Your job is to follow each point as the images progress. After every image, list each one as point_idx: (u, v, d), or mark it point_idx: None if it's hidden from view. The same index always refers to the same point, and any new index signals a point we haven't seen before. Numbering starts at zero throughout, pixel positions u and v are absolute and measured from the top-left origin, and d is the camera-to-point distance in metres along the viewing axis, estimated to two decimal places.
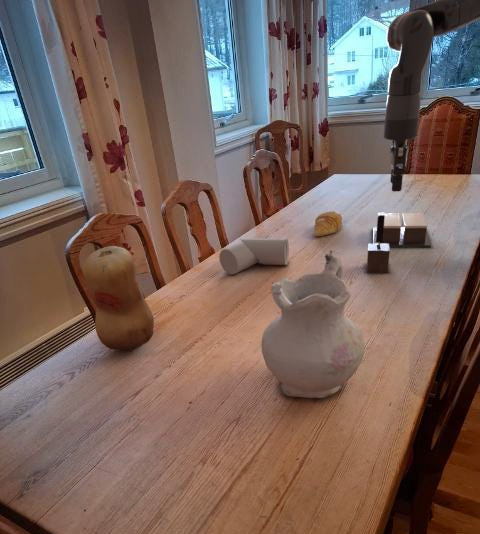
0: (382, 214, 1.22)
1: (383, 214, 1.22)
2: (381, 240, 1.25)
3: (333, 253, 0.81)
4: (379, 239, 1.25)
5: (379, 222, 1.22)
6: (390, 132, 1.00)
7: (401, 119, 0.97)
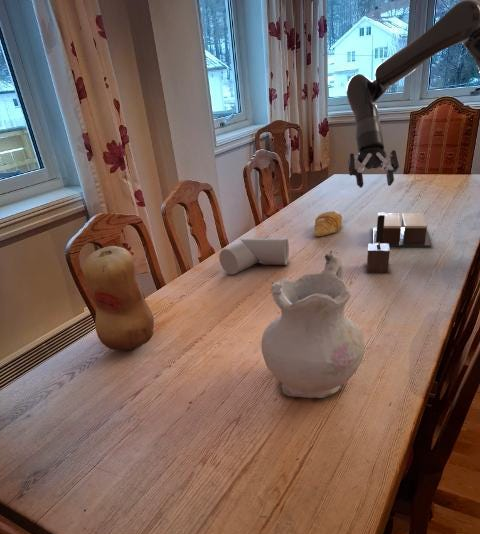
0: (382, 214, 1.22)
1: (383, 214, 1.22)
2: (381, 240, 1.25)
3: (333, 253, 0.81)
4: (379, 239, 1.25)
5: (379, 222, 1.22)
6: None
7: (356, 139, 1.31)
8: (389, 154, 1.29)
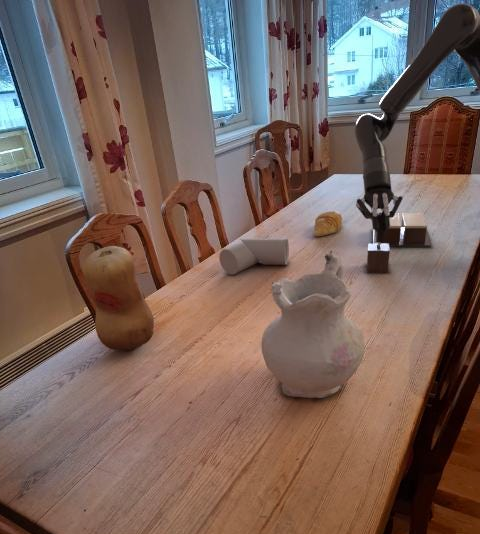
0: (382, 214, 1.22)
1: (383, 214, 1.22)
2: (382, 240, 1.25)
3: (333, 253, 0.81)
4: (380, 239, 1.25)
5: (380, 222, 1.22)
6: None
7: (363, 179, 1.28)
8: (396, 198, 1.24)
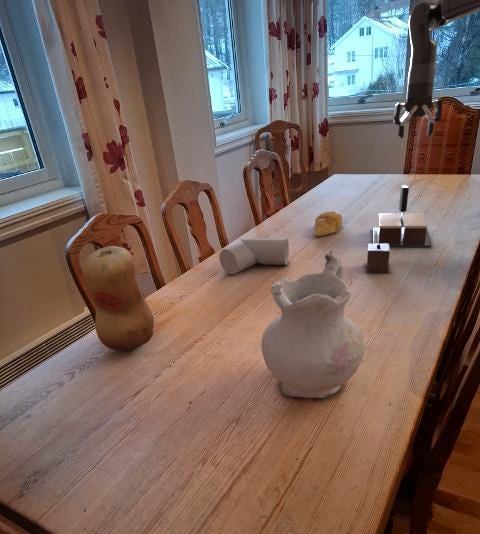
0: (406, 187, 1.42)
1: (407, 187, 1.42)
2: (405, 210, 1.45)
3: (333, 253, 0.81)
4: (404, 209, 1.45)
5: (404, 194, 1.42)
6: None
7: (408, 82, 1.33)
8: (435, 103, 1.35)
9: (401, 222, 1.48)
